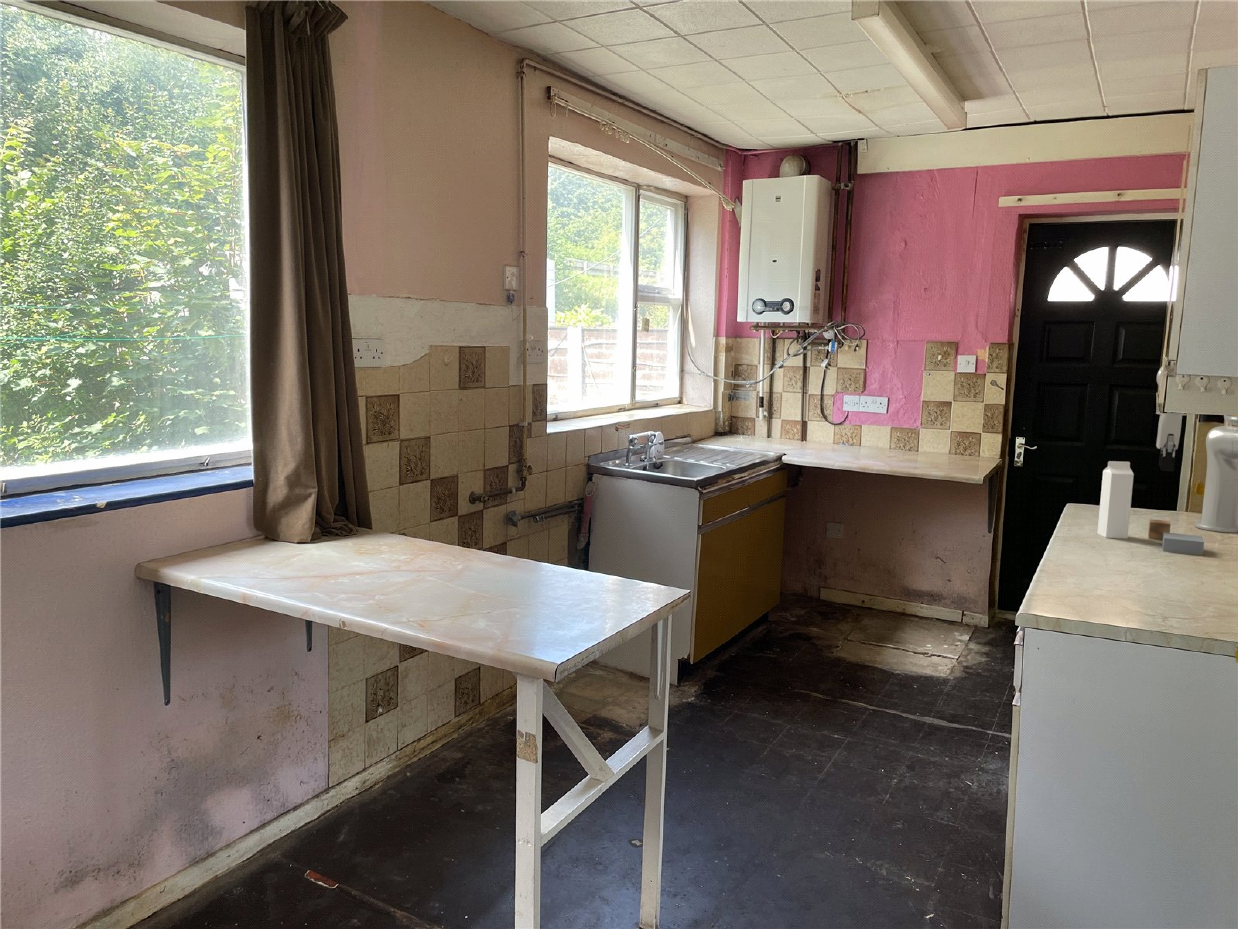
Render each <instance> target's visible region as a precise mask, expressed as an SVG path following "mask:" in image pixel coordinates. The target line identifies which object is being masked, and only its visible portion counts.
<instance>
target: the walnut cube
mask: <svg viewBox="0 0 1238 929" xmlns="http://www.w3.org/2000/svg"><path fill="white" fill-rule="evenodd" d="M1148 521H1149V522H1148V531H1147V537H1148V538H1147V539H1149V540H1155V541H1156V540H1157V541H1163V532H1166V533H1171V521H1170V520H1163V519H1162V520H1161V519H1152V518H1151V519H1150V518H1149V520H1148Z"/></svg>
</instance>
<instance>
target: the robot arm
mask: <svg viewBox="0 0 1238 929" xmlns="http://www.w3.org/2000/svg"><path fill="white" fill-rule="evenodd" d="M1162 372H1163V365H1162V366H1161V367H1160V368H1159V370H1158V372H1157V374H1156V383H1157V386H1158V389H1157V390H1158V392H1157V395H1158V394H1159V390H1160V381H1161V376H1162ZM1156 400H1157V401H1156V410H1155V411H1156V412H1155V415H1156V414H1157V415H1159V421H1158V427H1157V435H1156V436H1157V437H1156V444H1155V446H1156V448H1157V449H1159V450H1160V452H1159V458H1158V467H1160V471H1162V472H1175V464H1176V457H1175V456H1176V450H1178V448H1179V443H1180V437H1181V431H1182V429H1181V428H1182V419H1183V416H1187V415H1188V413H1187V414H1184V413H1171V412H1167V413H1160V411H1159V407H1158V398H1157V399H1156ZM1223 418H1224V421H1225V422H1226V423H1228V424H1229V425H1220V426H1216V427H1213V428H1211V429H1210V430H1209V431H1208V433H1207V434H1206V437H1205V448H1206V455H1207V456H1206V457H1207V458H1206V459H1207V461H1206V474H1205V475H1206V476H1205V483H1204V492H1203V500H1202V501H1203V502H1202V512H1201V521H1195V522H1194V526H1195V527H1196V528H1198V529H1201V530H1206V531H1211V532H1220V533H1233V534H1234V533H1235V534H1236V533H1238V416H1226V415H1224V414H1223Z"/></svg>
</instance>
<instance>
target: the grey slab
mask: <svg viewBox="0 0 1238 929" xmlns="http://www.w3.org/2000/svg"><path fill="white" fill-rule="evenodd" d="M1161 541H1162V543H1161V544H1162V545H1161V547H1162V552H1165V553H1166V552H1168V553H1177V554H1183V555H1193V556H1204V548H1205V541H1204V538H1203V536H1202V535H1194V534H1186V533H1185V534H1184V533H1175V532H1170V533H1166V532H1163V540H1161Z"/></svg>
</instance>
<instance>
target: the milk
mask: <svg viewBox="0 0 1238 929" xmlns="http://www.w3.org/2000/svg"><path fill="white" fill-rule="evenodd" d="M1134 476H1135V473H1134V472H1133V470H1132V469H1131V462H1130V461H1119V460H1118V461H1116V460H1114V461H1113V460H1112V461H1111V460H1109V461H1108V462H1107V467H1105V468H1104V469H1103V470H1102V477H1101V478H1102V480H1101V491H1100V502H1099V512H1098V522H1097V523H1098V525H1097V534H1098V535H1099V536H1102V537H1103V538H1106V539H1124V540H1125V539H1127V540H1128V538H1129V537H1128V536H1129V529H1130V528H1129V525H1130V518H1131V507H1132V506H1131V505H1132V495H1133V484H1134ZM1097 534H1096V535H1097Z"/></svg>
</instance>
